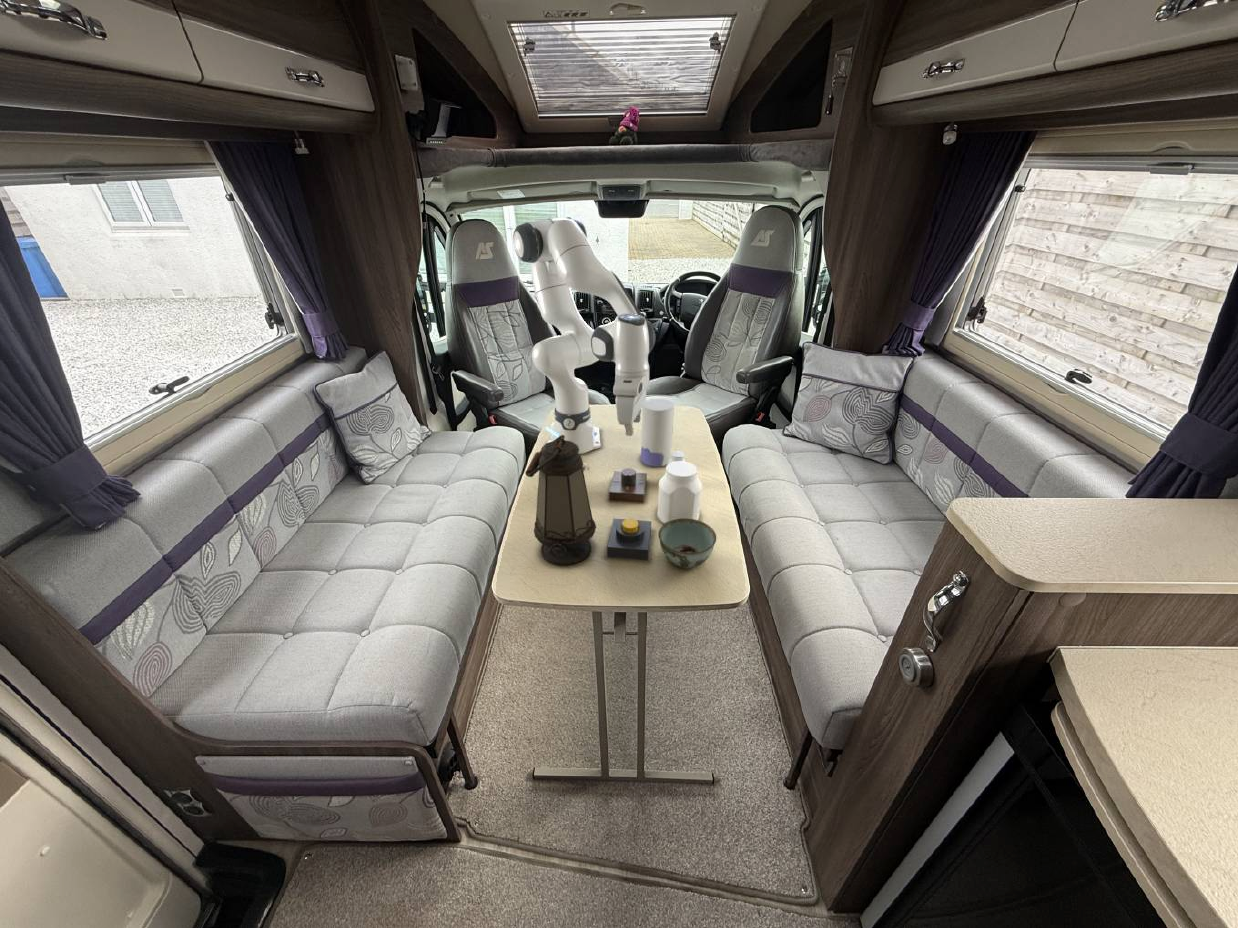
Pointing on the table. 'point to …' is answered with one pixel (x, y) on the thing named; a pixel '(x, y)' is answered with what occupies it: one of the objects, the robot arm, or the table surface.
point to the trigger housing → (629, 541)
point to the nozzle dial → (628, 477)
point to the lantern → (562, 504)
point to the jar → (679, 492)
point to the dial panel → (628, 489)
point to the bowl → (686, 542)
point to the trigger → (630, 526)
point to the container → (657, 432)
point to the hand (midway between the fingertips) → (633, 428)
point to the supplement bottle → (677, 456)
